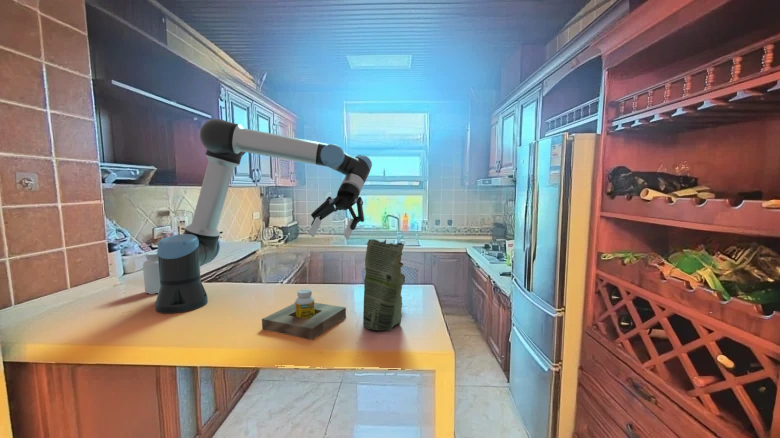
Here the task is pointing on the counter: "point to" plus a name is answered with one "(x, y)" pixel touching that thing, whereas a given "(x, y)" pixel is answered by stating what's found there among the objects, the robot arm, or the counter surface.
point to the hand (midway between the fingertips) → (328, 235)
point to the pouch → (383, 285)
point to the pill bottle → (151, 273)
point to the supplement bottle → (305, 304)
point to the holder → (304, 321)
